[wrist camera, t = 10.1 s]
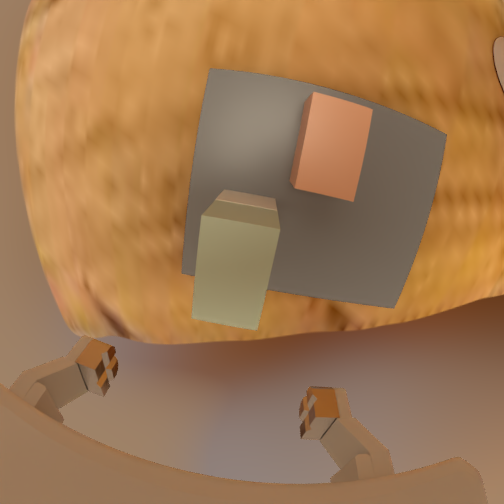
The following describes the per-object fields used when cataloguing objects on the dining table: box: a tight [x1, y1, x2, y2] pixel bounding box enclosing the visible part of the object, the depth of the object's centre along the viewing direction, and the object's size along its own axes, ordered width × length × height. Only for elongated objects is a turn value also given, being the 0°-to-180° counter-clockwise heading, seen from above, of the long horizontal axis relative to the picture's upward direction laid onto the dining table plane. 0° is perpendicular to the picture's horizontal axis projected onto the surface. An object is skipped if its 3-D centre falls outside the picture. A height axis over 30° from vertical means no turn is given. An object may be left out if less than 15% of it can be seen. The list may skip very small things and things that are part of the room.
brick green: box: [192, 200, 280, 331], centre depth 21 cm, size 5×8×5 cm, turn 170°
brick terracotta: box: [289, 92, 373, 202], centre depth 22 cm, size 5×8×5 cm, turn 170°
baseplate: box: [182, 68, 447, 308], centre depth 24 cm, size 26×22×6 cm
